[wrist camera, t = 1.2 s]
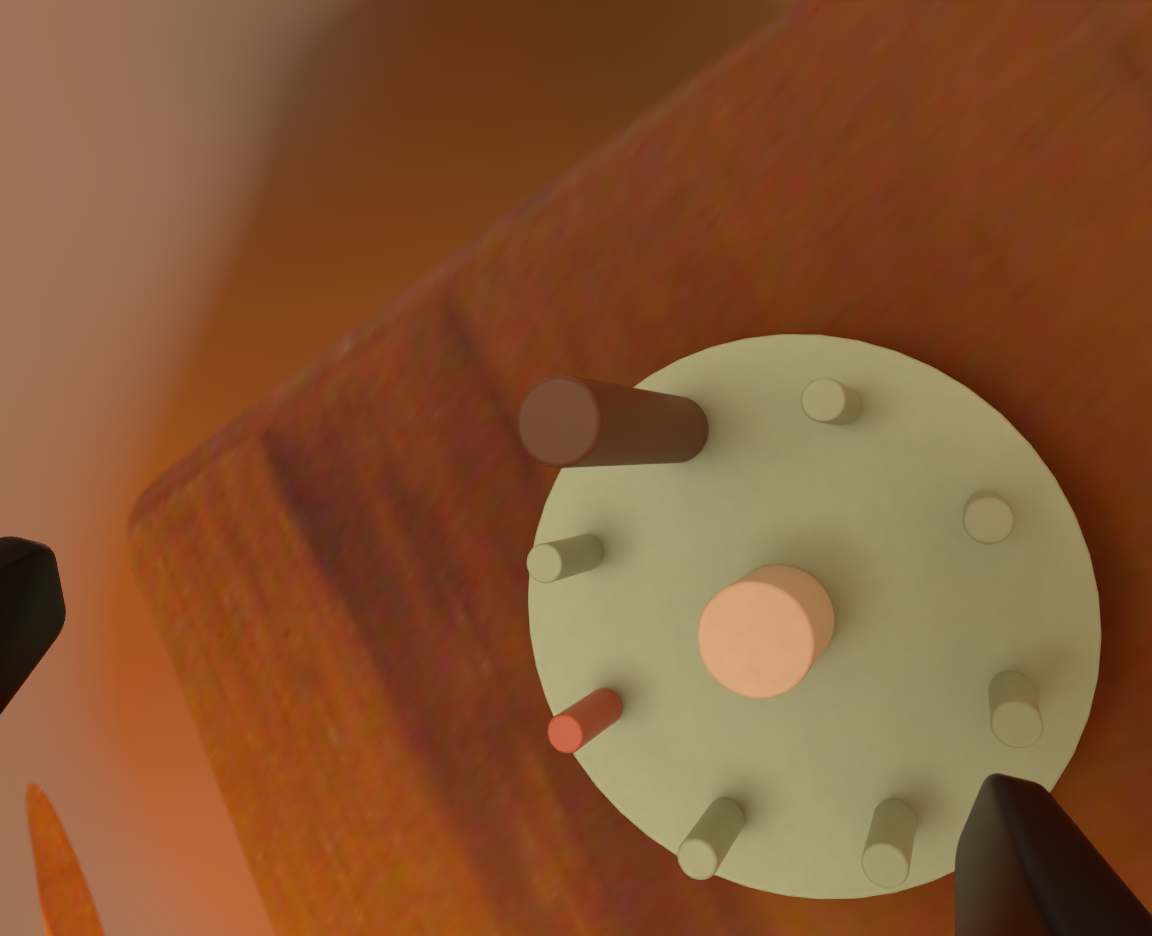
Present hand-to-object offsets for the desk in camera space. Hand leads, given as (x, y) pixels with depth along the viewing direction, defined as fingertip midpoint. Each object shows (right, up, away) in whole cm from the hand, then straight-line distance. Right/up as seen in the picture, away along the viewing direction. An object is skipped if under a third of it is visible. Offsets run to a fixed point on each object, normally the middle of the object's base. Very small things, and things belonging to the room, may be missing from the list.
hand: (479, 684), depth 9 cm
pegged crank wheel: (+6, -1, +14) cm, 15 cm away
